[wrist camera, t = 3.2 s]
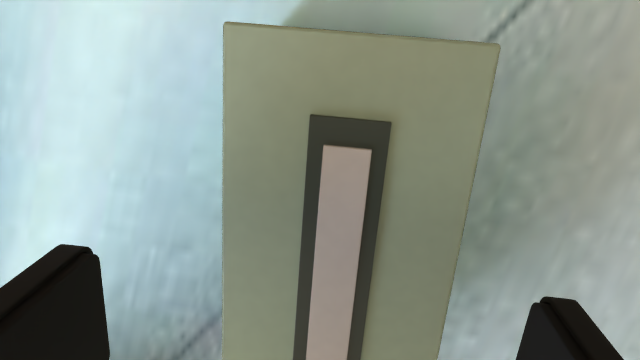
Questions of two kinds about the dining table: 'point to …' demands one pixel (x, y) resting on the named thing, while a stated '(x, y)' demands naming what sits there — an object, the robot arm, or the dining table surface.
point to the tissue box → (345, 189)
